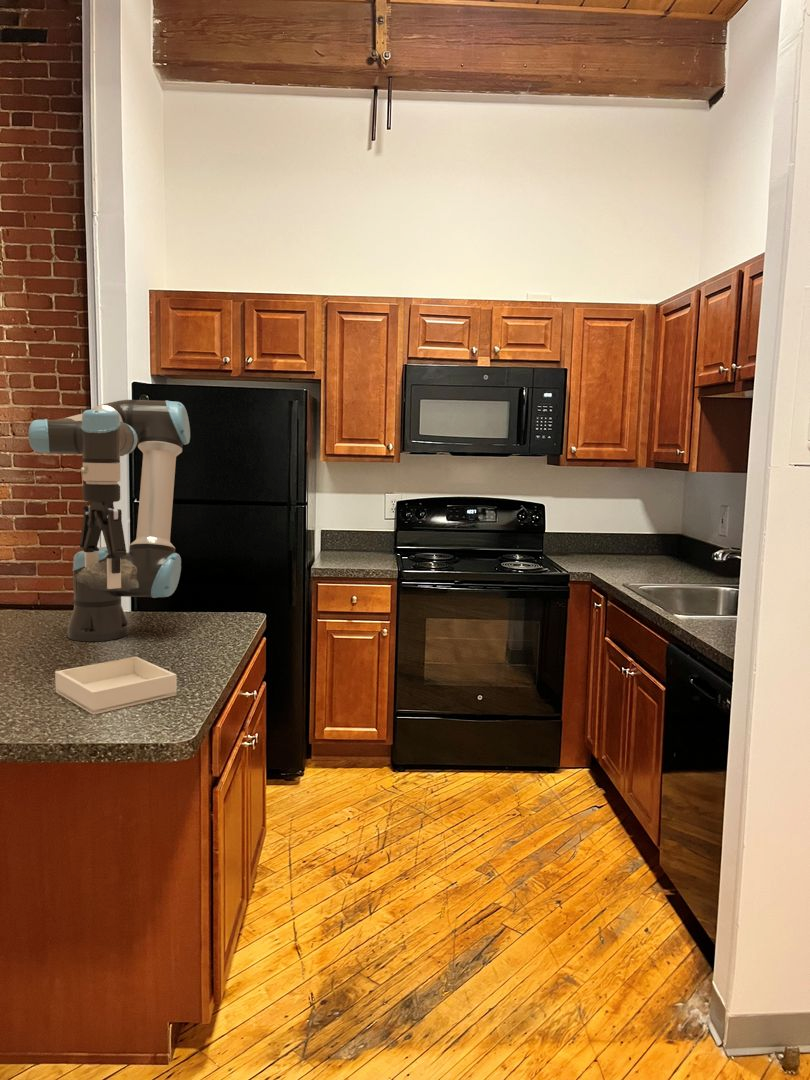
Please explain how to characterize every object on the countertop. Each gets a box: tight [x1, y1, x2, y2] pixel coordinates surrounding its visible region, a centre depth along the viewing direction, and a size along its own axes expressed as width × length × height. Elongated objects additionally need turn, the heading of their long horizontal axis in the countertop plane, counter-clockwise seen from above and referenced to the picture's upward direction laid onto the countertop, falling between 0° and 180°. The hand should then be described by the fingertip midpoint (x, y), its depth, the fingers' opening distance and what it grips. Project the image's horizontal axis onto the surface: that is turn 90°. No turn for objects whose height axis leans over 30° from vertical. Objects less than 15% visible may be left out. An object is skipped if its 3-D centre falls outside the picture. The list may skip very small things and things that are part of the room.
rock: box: [72, 559, 139, 592], centre depth 169 cm, size 13×9×6 cm, turn 104°
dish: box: [54, 655, 178, 715], centre depth 160 cm, size 18×18×4 cm
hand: (102, 584), depth 169 cm, fingers closed on rock, 11 cm apart
